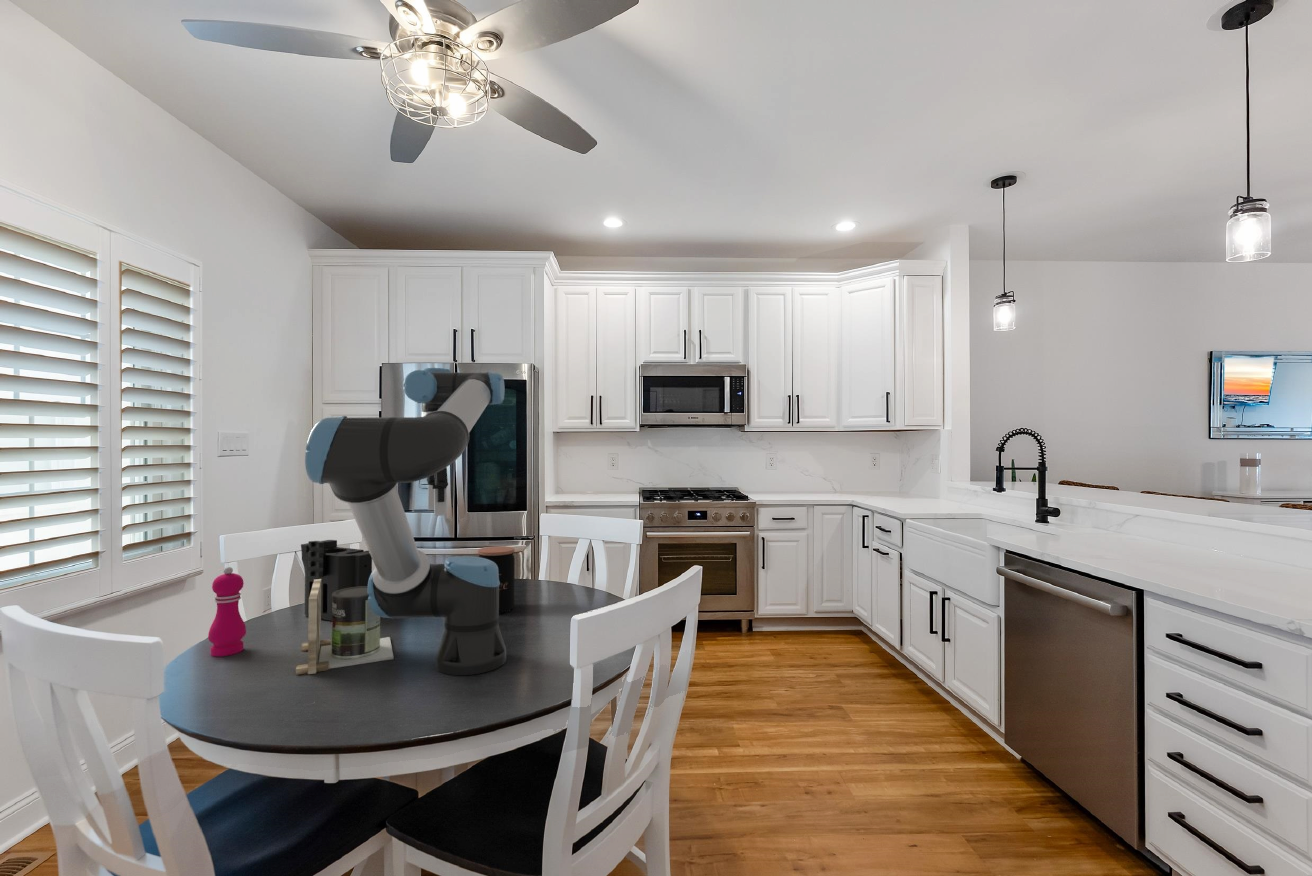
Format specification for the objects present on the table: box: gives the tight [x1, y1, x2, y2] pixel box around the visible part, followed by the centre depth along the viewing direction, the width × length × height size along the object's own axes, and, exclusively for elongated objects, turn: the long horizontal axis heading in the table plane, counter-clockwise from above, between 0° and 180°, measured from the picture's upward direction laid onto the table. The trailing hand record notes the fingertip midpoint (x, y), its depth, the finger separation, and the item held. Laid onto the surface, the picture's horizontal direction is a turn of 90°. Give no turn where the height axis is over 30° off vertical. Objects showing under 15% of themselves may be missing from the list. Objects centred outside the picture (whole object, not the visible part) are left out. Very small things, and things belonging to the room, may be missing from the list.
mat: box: [318, 636, 394, 670], centre depth 137 cm, size 15×15×1 cm
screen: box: [295, 579, 332, 676], centre depth 134 cm, size 20×6×16 cm, turn 28°
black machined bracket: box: [300, 539, 373, 622], centre depth 166 cm, size 12×21×22 cm, turn 67°
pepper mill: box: [207, 566, 247, 658], centre depth 138 cm, size 7×7×20 cm
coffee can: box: [331, 586, 381, 659], centre depth 137 cm, size 10×10×14 cm
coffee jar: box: [477, 545, 516, 614], centre depth 173 cm, size 11×11×18 cm
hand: (436, 512), depth 149 cm, fingers open, 13 cm apart
